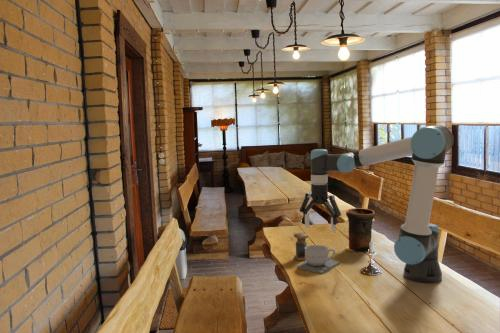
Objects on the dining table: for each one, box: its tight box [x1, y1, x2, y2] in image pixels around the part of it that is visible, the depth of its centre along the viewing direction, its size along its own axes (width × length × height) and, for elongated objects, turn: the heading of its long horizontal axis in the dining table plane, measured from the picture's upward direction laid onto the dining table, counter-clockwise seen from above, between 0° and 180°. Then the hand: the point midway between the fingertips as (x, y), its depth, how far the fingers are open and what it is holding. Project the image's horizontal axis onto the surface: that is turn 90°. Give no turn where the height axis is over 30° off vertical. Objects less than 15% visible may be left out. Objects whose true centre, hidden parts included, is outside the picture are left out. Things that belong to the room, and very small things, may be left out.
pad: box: [296, 259, 340, 275], centre depth 197 cm, size 13×16×1 cm
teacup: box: [305, 244, 336, 266], centre depth 196 cm, size 14×11×8 cm
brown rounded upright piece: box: [293, 232, 309, 262], centre depth 207 cm, size 7×7×12 cm
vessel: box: [345, 207, 376, 253], centre depth 220 cm, size 14×14×20 cm
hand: (320, 229), depth 195 cm, fingers open, 13 cm apart
